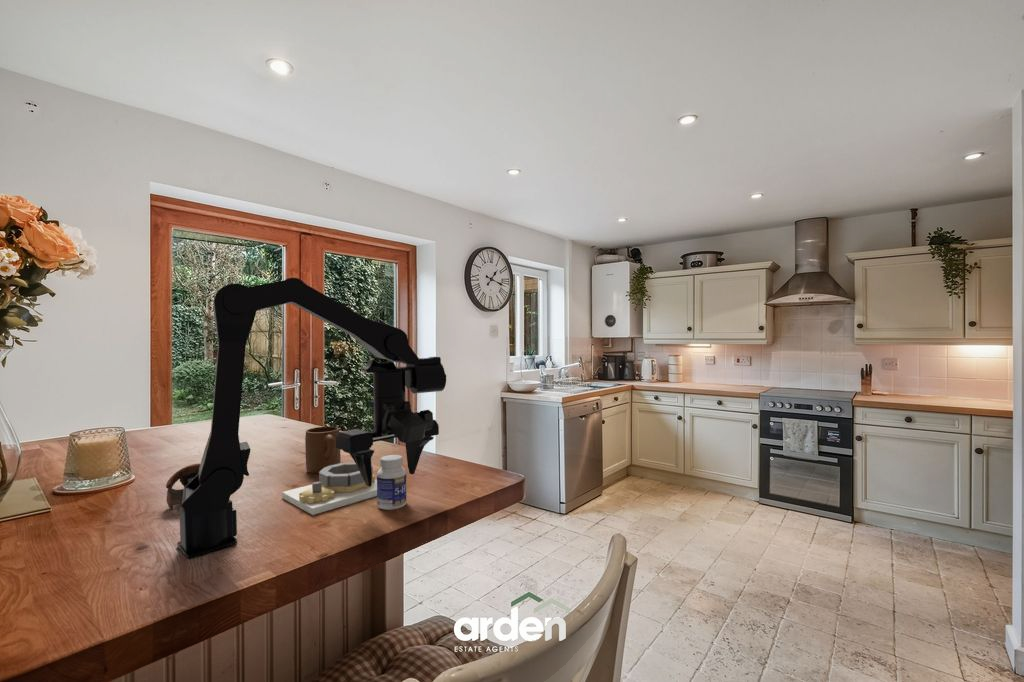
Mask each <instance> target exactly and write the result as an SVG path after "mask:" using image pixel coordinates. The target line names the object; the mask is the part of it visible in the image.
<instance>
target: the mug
mask: <svg viewBox="0 0 1024 682" xmlns="http://www.w3.org/2000/svg"><path fill="white" fill-rule="evenodd" d="M339 432H341V431H340V427H338V426H317V427H313V428H309V429H307V430H305V435H304V436H305V437H304V441H305V469H306V471H307V473H310V474H319V472H320V471H321V470H322V469H323V468H324V467H327V466H331V465H335V464H339V463H342V462H341V461H342V460H341V449H338V448H336V437H337V435H338V434H339Z"/></svg>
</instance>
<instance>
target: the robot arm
mask: <svg viewBox="0 0 1024 682" xmlns="http://www.w3.org/2000/svg"><path fill="white" fill-rule="evenodd" d="M285 304H290V305H292V306H295V307H297V308H298V309H301V310H302V311H304V312H306V313H308V314H310V315H312V316H314V317H315V318H318V319H320V320H321V321H323V322H325V323H327V324H329V325H330V326H332V327H334V328H336V329H338V330H339V331H342V332H344V333H346V334H347V335H349V336H351V337H352V338H353V339H355V340H356V342H358V343H359V344H360V345H361V347H363V348H365V349H366V350H367V351H368V352H370V353H371V354H372V355H373V356H375V357H378V358H380V359H386V360H390V361H387V362H378V361H377V360H376V359H374V358H369V360H368V361H367V363H366V364H365V365H363V366H362V367H361V370H360V371H361V372H364V373H367V374H368V373H369V374H371V373H372V377H373V378H372V379H373V382H372V383H373V385H372V387H373V388H372V389H373V400H370V401H369V407H370V408H373V422H371V423H370V426H369V427H370V430H373V431H368V430H367V431H366V430H364V429H359V428H354V429H349V430H343V431H340V432H339V434H338V435H337V437H336V448H338V449H340V451H341V450H342V451H343V452H344V453H347V454H349V455H350V457H351V458H352V460H353V462H355V463H356V465H357V467H358V469H359V471H360V473H361V475H362V477H363V479H364V481H365V484H366V485H367V486H369V487H370V486H371V484H372V468H371V465H372V457H373V455H374V453H375V450H374V449H371V448H372V447H373V445H374V443H375V442H376V443H377V442H380V441H385V440H390V439H395V438H397V439H398V441H399V442H400V443H402V444H403V443H404V444H405V453H406V461H407V467H408V473H409V475H415V472H416V470H417V467H418V464H419V461H420V458H421V455H422V452H423V449H425V446H427V444H428V443H429V442H430V441H433V440H434V438H435V436H438V435H439V434H440V424H438V421H436V419H434V416H433V412H432V411H431V410H430V409H424V410H420V411H419V412H418V411H417V412H416V411H415V412H414V411H412V405H411V401H410V400H406V389H408V390H409V389H410V392H411V393H412V394H424V393H434V392H435V393H437V392H442V391H444V390H445V388H446V385H447V374H446V371H445V367H444V366H443V364H442V358H441V356H430V357H422V358H419V357H418V355H417V354H416V352H415V351H414V350H413V349H412V347H411V346H410V345H409V343H410V342H409V338H408V335H407V333H406V332H405V331H404V330H402V329H401V328H399V327H397V326H396V327H395V326H393V325H389V324H387V323H384V322H381V321H377V320H374V319H370V318H369V317H368V318H367V317H365V316H363V315H361V314H360V313H358V312H356V311H355V310H352V309H351V308H349V307H347V306H345V305H344V304H341V303H340V302H338V301H336V300H335V299H333V298H332V297H330V296H328V295H326V294H324V293H323V292H320V291H319V290H317V289H315V288H313V287H311V286H309V285H308V284H307V283H306V282H304V281H303V280H302V279H300V278H297V277H289V278H286V279H283V280H280V281H274V282H270V283H269V282H268V283H263V284H257V285H254V286H247V285H244V284H241V283H229V284H227V285H224V286H222V287H221V288H219V289H218V290H217V291H216V293H215V295H214V297H213V302H212V306H213V307H212V308H213V315H214V323H215V330H216V337H217V353H216V366H215V376H214V377H215V378H214V379H215V380H214V390H213V399H212V400H213V401H212V411H211V414H212V415H211V423H210V426H211V428H210V433H209V436H208V438H207V441H206V445H205V447H204V450H203V454H202V457H201V461H200V463H199V464H200V467H199V473H198V474H197V475H196V476H195V477H194V478H193V479H192V480H191V481H190V482H189V483H188V484H187V485H186V486H185V487H184V486H183V488H182V489H183V500H182V504H181V507H179V536H180V539H179V541H178V542H177V543H176V545H177V546H176V547H177V548H178V549H179V550H180V551H181V552H182V554H183V555H185V557H186V558H188V559H191V558H195V557H198V556H201V555H204V554H208V553H211V552H215V551H217V550H220V549H224V548H228V547H230V546H234V545H236V544H238V539H237V538H236V536H237V535H238V526H237V525H238V520H237V517H238V516H237V509H235V508H234V507H233V501H232V500H231V499H230V498H231V496H232V495H233V494H235V493H236V492H238V490H240V489H241V487H242V485H243V483H244V479H245V477H244V476H246V477H248V476H250V474H249V473H250V472H249V470H248V463H249V459H250V455H251V447H250V445H249V443H248V441H243V442H240V436H239V430H240V418H241V405H242V395H243V381H244V371H245V360H246V359H245V357H246V346H247V342H248V339H249V336H250V334H251V331H252V328H253V324H254V321H255V318H256V315H257V311H260V310H266V309H269V308H272V307H276V306H281V305H285ZM392 361H393V362H392ZM395 363H399V364H405V366H396V365H395Z"/></svg>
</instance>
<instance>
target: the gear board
mask: <svg viewBox="0 0 1024 682" xmlns="http://www.w3.org/2000/svg"><path fill="white" fill-rule="evenodd" d="M371 468H372V484H371V486H370V487H369V486H367V485H366V484H365V481H364V479H363V477H362V475H361V473H360V471H359V469H358V467H357V465H356V463H355V461H353V462H348V461H347V462H346V461H345V462H341V463H339V464H335V465H331V466H327V467H324V468H323V469H322V470H321V471H320V472H319V473H318V481H314V482H312V484H308V485H305V486H300V487H296V488H292V489H288V490H286V491H281V499H283V500H285V501H287V502H289V503H290V504H292V505H294V506H296V507H297V508H298V509H301V510H303V511H305V512H306V513H307V514H310V515H312V516H315V515H317V514H321V513H325V512H328V511H331V510H334V509H337V508H342V507H345V506H348V505H351V504H355V503H358V502H362V501H364V500H369V499H371V498H375V497H377V479H376V477H375V474H374V472H373V470H374V469H373V468H374V467H373V464H371Z"/></svg>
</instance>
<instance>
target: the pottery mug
mask: <svg viewBox="0 0 1024 682" xmlns="http://www.w3.org/2000/svg"><path fill="white" fill-rule="evenodd" d="M200 464H201V463H193V464H190V465H187V466H184V467H183V468H181V469H179V470H177V471H176V472H175V473H173V474H172V475H171V476H170V477H169V479H168V480H167V482H166V485H165V488H167V491H166V503H167V505H168V508H169V509H170V510H173V509H174V506H176V505H182V500H183V489H184V487H185V486H186V485H187V484H188V483H189V482H190V481H191V480H192V479H193V478H194V477H195V476H196V475H197V474H198V473H199V467H200ZM178 481H179V482H180V484H181V485H182V486H183V488H181V489H175V488H173V487H174V485H175V484H176V483H177V482H178Z"/></svg>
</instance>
